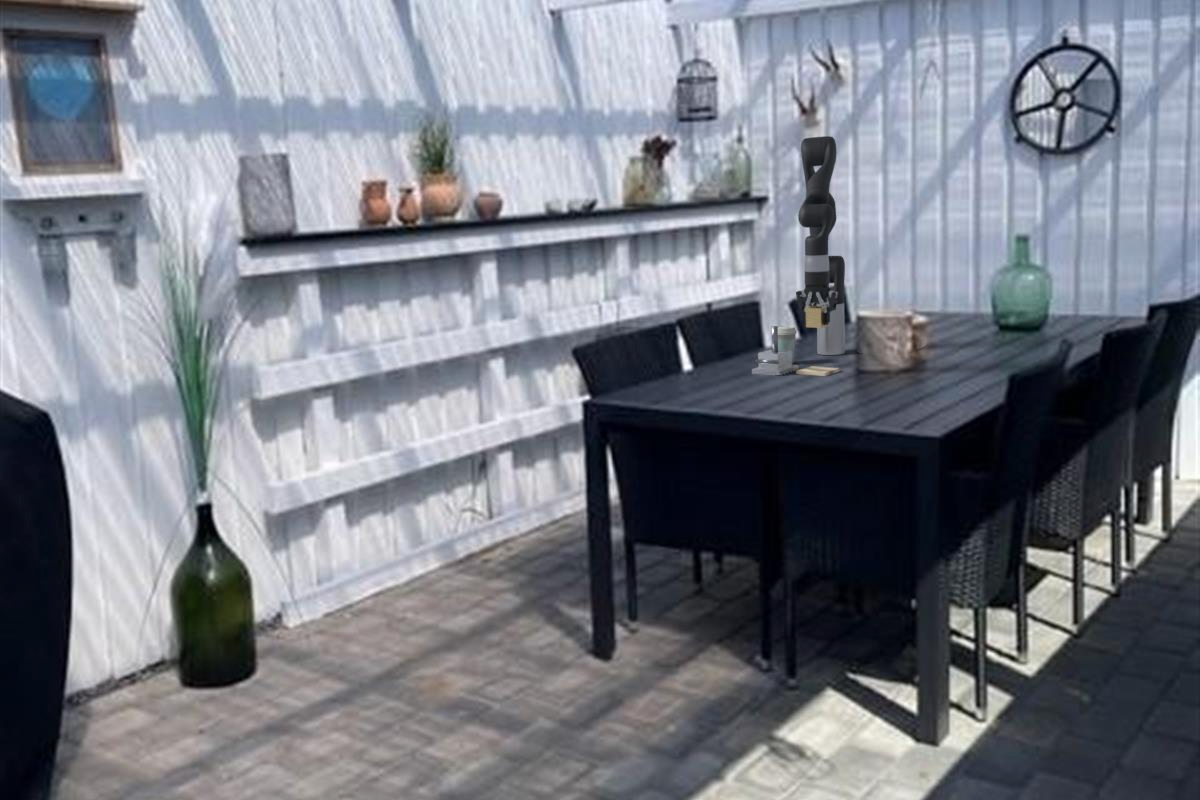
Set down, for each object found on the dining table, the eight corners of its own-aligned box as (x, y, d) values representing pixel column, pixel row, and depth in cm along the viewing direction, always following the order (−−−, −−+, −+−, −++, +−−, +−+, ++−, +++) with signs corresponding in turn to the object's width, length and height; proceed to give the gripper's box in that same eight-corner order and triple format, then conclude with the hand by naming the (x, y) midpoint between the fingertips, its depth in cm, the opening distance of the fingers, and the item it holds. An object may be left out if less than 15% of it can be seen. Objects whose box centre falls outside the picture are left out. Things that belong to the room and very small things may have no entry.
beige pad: (811, 369, 408) (811, 366, 408) (840, 371, 402) (840, 368, 402) (796, 374, 400) (796, 370, 400) (825, 376, 394) (824, 372, 394)
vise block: (771, 368, 414) (770, 323, 411) (798, 370, 408) (798, 324, 405) (751, 373, 404) (750, 328, 402) (779, 375, 398) (778, 329, 396)
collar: (814, 325, 402) (813, 306, 401) (829, 325, 399) (828, 306, 398) (806, 327, 398) (805, 307, 397) (821, 327, 395) (820, 308, 394)
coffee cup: (789, 366, 416) (788, 329, 414) (766, 364, 421) (765, 328, 419) (802, 362, 423) (801, 326, 421) (779, 360, 428) (778, 325, 426)
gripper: (843, 268, 394) (844, 323, 397) (802, 268, 403) (802, 322, 406) (832, 271, 388) (832, 326, 391) (790, 270, 397) (791, 325, 400)
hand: (817, 324), depth 399 cm, fingers closed on collar, 5 cm apart
